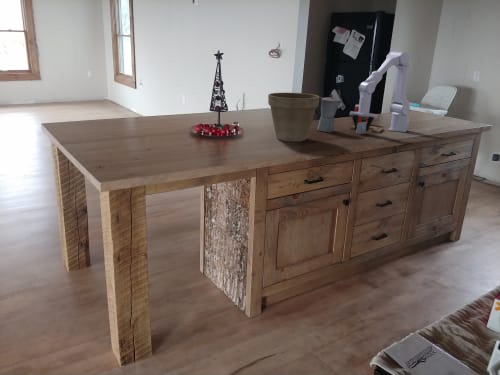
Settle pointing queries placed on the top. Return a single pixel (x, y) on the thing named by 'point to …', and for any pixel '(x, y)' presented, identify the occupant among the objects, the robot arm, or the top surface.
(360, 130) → the grey round flask
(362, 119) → the canned food
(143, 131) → the top surface
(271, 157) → the top surface
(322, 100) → the moka pot
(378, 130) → the brown wooden panels
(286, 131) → the plant pot
